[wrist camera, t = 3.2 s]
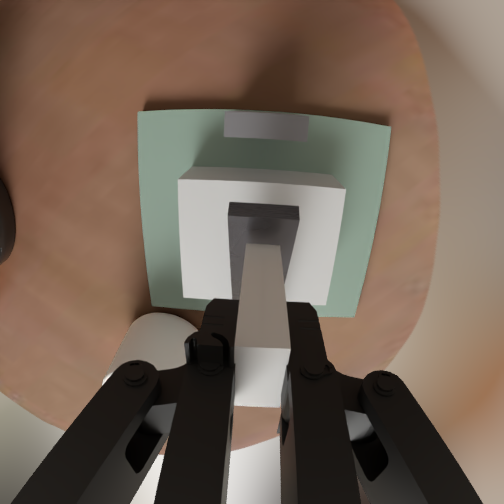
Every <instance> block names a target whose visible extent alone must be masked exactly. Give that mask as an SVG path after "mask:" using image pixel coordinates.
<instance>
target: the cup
mask: <svg viewBox="0 0 504 504" xmlns="http://www.w3.org/2000/svg"><path fill="white" fill-rule="evenodd" d="M197 331H198V330H197V329H196V328H195V327H194V326H193V325H192V324H191V323H189V322H188V321H186V320H184V319H183V318H180V317H178V316H176V315H172V314H168V313H149V314H146V315H143V316H141V317H139V318H138V319H136V320H135V321H134V322H133V323H132V324H131V326H130V327H129V329H128V331H127V333H126V335H125V337H124V339H123V341H122V343H121V345H120V347H119V349H118V351H117V353H116V355H115V357H114V359H113V361H112V363H111V365H110V367H109V369H108V371H107V373H106V375H105V377H104V379H103V382H102V386H103V384H104V383H105V382H106V381H107V379H108V378H109V377H110V376H111V375H112V373H113V372H114V371H115V370H116V369H117V368H118V367H119V366H120V365H121V364H123V363H126V362H128V361H132V360H142V361H147V362H149V363H151V364H152V365H154V366H155V368H156V369H157V370H166V369H173V368H177V367H180V366H182V365H184V364H186V356H185V347H184V342H185V340H186V339H187V337H188V336H190V335H191V334H192V333H194V332H197Z"/></svg>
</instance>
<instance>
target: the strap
mask: <svg viewBox="0 0 504 504" xmlns="http://www.w3.org/2000/svg"><path fill="white" fill-rule="evenodd" d="M299 221H300V216H299V206H293V205H278V204H262V203H244V202H229V208H228V235H229V253H230V271H231V287H232V299H234V300H240V292H241V283H242V275H243V266H244V257H245V249H246V243H250V244H267V245H280V250H281V258H282V267H283V276H284V284H285V280H286V276H287V272H288V268H289V264H290V260H291V256H292V251H293V247H294V243H295V239H296V234H297V230H298V226H299Z"/></svg>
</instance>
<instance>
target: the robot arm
mask: <svg viewBox="0 0 504 504" xmlns="http://www.w3.org/2000/svg"><path fill="white" fill-rule="evenodd" d="M14 240H15V221H14V215H13V210H12V205H11V202H10V199H9V196H8V193H7V191H6V188H5V186H4V184H3V182H2V180H1V179H0V265H1V264H2V263H3V262H4V261H6V260H7V259H8V257H9V256H10V254H11V252H12V249H13V246H14ZM184 347H185V356H186V364H184V365H182V366H180V367H177V368H173V369H166V370H157V369H156V368H155V366H154V365H152V364H151V363H149V362H147V361H142V360H132V361H128V362H126V363H123V364H121V365H120V366H119V367H118V368H117V369H116V370H115V371H114V372H113V373H112V375H111V376H110V377H109V378H108V379H107V381H106V382H105V383H104V384H103V386H102V387H101V388H100V389H99V390H98V392H97V393H96V394H95V395H94V397H93V398H92V399H91V400H90V402H89V403H88V404H87V405H86V407H85V408H84V409H83V410H82V412H81V413H80V414H79V415H78V417H77V418H76V419H75V420H74V422H73V423H72V424H71V425H70V427H69V428H68V429H67V430H66V432H65V433H64V434H63V436H62V437H61V438H60V439H59V441H58V442H57V443H56V445H55V446H54V447H53V449H52V450H51V451H50V452H49V454H48V455H47V456H46V458H45V459H44V460H43V461H42V463H41V464H40V465H39V467H38V468H37V469H36V471H35V472H34V473H33V475H32V476H31V477H30V478H29V480H28V481H27V482H26V484H25V485H24V487H23V488H22V489H21V491H20V492H19V493H18V495H17V496H16V497H15V499H14V500H13V501H12V503H11V504H130V503H131V501H132V499H133V497H134V496H135V494H136V492H137V491H138V489H139V487H140V485H141V484H142V481H143V480H144V478H145V477H146V475H147V473H148V471H149V470H150V468H151V466H152V464H153V463H154V461H155V459H156V457H157V456H158V454H159V452H160V450H161V449H162V447H163V445H164V443H165V442H166V440H167V438H168V436H169V438H168V442H167V446H166V451H165V455H164V459H163V464H162V468H161V473H160V477H159V482H158V486H157V491H156V496H155V501H154V504H226V499H227V487H228V476H229V464H230V452H231V440H232V428H233V409H234V405H237V406H253V407H280V404H281V417H280V421H279V426H278V430H277V433H280V465H281V504H361V500H360V493H359V487H358V481H357V476H358V479H359V481H360V483H361V485H362V487H363V489H364V492H365V494H366V496H367V498H368V500H369V502H370V504H483V503H482V501H481V500H480V498H479V496H478V495H477V493H476V491H475V490H474V488H473V486H472V485H471V483H470V482H469V480H468V478H467V477H466V475H465V474H464V472H463V471H462V469H461V467H460V466H459V464H458V463H457V461H456V459H455V458H454V456H453V455H452V453H451V452H450V450H449V449H448V447H447V445H446V444H445V443H444V441H443V440H442V438H441V436H440V435H439V433H438V432H437V430H436V429H435V427H434V426H433V425H432V423H431V421H430V420H429V419H428V417H427V416H426V414H425V413H424V411H423V410H422V408H421V407H420V405H419V404H418V402H417V401H416V399H415V398H414V397H413V395H412V394H411V392H410V391H409V389H408V388H407V387H406V385H405V384H404V382H403V381H402V380H401V379H400V378H399V377H398V376H397V375H395V374H392V373H391V372H388V371H383V370H380V371H373V372H371V373H369V374H367V376H366V377H365V378H364V379H359V378H355V377H350V376H347V375H344V374H341V373H340V372H338V371H336V369H335V367H334V365H333V364H332V363H331V362H329V361H328V359H327V355H326V351H325V346H324V342H323V337H322V332H321V330H320V323H319V319H318V315H317V311H316V310H315V308H314V307H313V306H312V305H311V304H310V303H309V302H287V301H286V295H285V286H284V276H283V267H282V258H281V250H280V245H267V244H250V243H246V249H245V257H244V266H243V275H242V283H241V292H240V300H234V299H219V298H214V299H213V300H212V301H211V302H210V303H209V304H208V305H207V306H206V309H205V313H204V317H203V320H202V325H201V328H200V331H197V332H194V333H192V334H191V335H190V336H188V337H187V339H186V340H185V342H184Z"/></svg>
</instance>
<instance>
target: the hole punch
mask: <svg viewBox="0 0 504 504" xmlns="http://www.w3.org/2000/svg"><path fill="white" fill-rule="evenodd" d="M390 134H391V127H389V126H384V125H378V124H373V123H367V122H361V121H354V120H348V119H341V118H333V117H326V116H317V115H308V114H298V113H287V112H274V111H257V110H232V109H182V110H156V111H140V112H138V164H139V186H140V202H141V216H142V228H143V239H144V248H145V258H146V266H147V275H148V282H149V290H150V297H151V304H152V306H158V307H168V308H178V309H190V310H202V311H205V309H206V306H207V305H208V304H209V303H210V302H211V301H212V300H213V299H214V298H219V299H232V287H231V271H230V253H229V235H228V208H229V202H244V203H262V204H278V205H293V206H299V216H300V221H299V226H298V230H297V234H296V239H295V243H294V247H293V251H292V256H291V260H290V264H289V268H288V272H287V276H286V280H285V284H284V286H285V295H286V301H287V302H309V303H310V304H311V305H312V306H313V307H314V308H315V310H316V311H317V315H318V317H354V316H355V312H356V309H357V305H358V301H359V298H360V294H361V290H362V286H363V282H364V278H365V274H366V270H367V266H368V261H369V257H370V253H371V248H372V243H373V239H374V234H375V229H376V224H377V219H378V214H379V208H380V203H381V197H382V191H383V185H384V179H385V172H386V165H387V158H388V150H389V142H390Z"/></svg>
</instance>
